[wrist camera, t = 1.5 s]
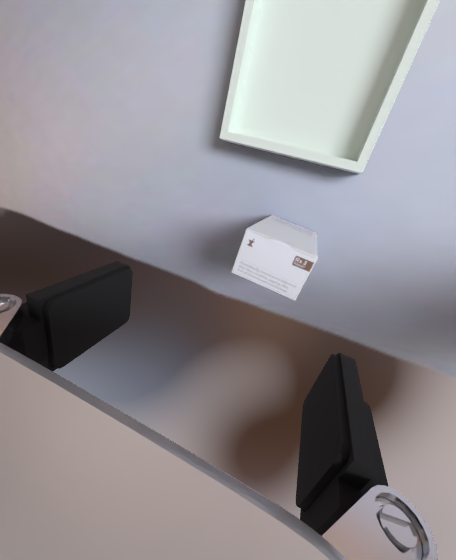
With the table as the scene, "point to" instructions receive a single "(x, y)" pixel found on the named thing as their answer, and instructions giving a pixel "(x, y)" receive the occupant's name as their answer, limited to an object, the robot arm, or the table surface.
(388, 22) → the sage tray
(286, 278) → the skincare box
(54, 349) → the robot arm
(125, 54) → the table surface
